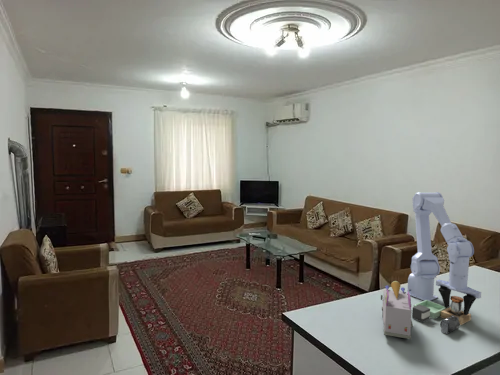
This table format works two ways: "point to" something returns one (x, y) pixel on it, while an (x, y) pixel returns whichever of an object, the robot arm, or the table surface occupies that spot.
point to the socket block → (462, 318)
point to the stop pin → (456, 305)
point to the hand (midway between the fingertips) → (456, 310)
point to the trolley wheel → (449, 324)
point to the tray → (432, 308)
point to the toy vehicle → (396, 312)
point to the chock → (421, 313)
